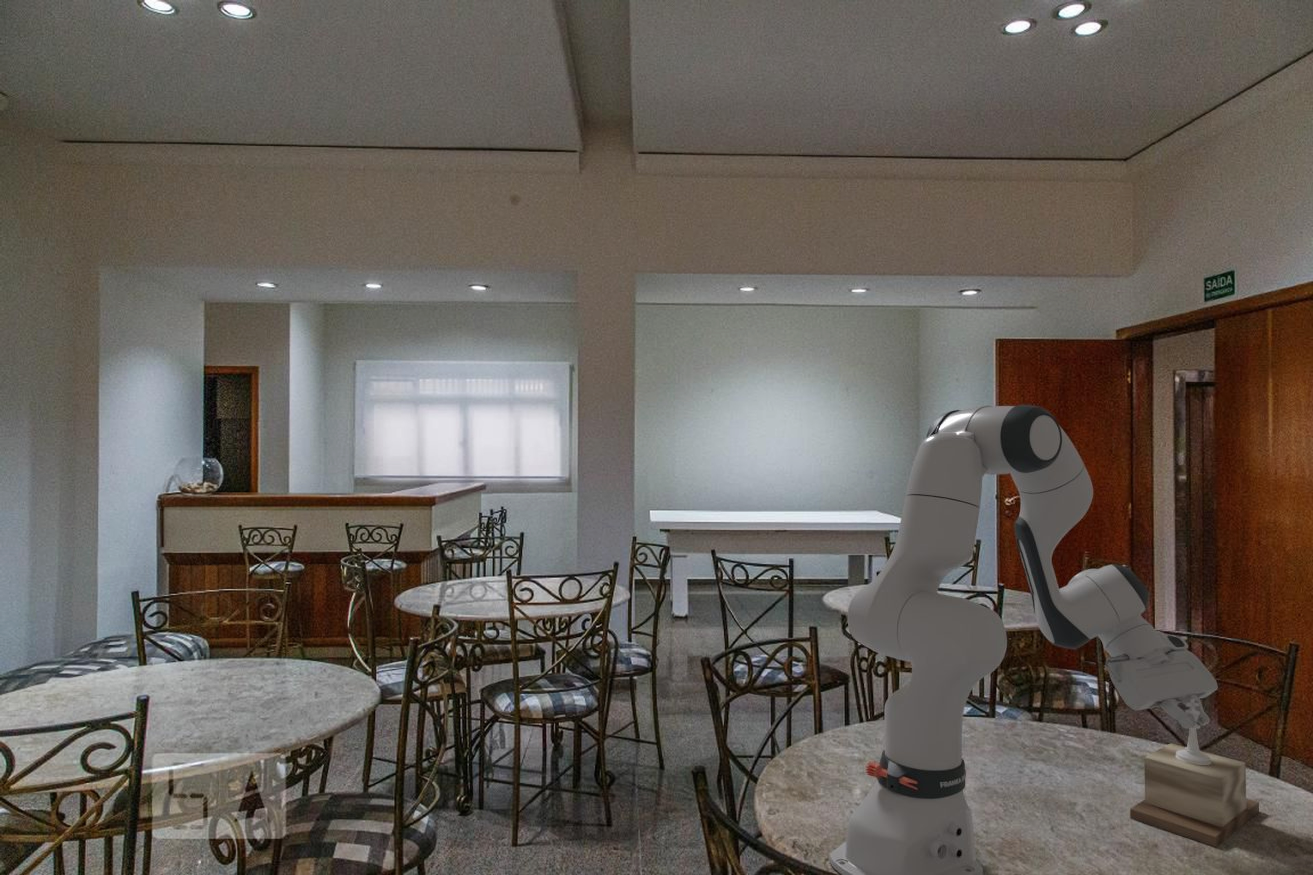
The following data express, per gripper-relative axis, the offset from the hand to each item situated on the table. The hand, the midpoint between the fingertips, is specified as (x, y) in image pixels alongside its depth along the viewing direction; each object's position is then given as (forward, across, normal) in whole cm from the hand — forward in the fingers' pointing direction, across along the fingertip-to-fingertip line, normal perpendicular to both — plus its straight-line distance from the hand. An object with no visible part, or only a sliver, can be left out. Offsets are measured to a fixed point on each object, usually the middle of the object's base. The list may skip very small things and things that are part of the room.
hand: (1198, 725), depth 130 cm
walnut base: (+10, 0, +11) cm, 15 cm away
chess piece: (+4, 0, +5) cm, 6 cm away
